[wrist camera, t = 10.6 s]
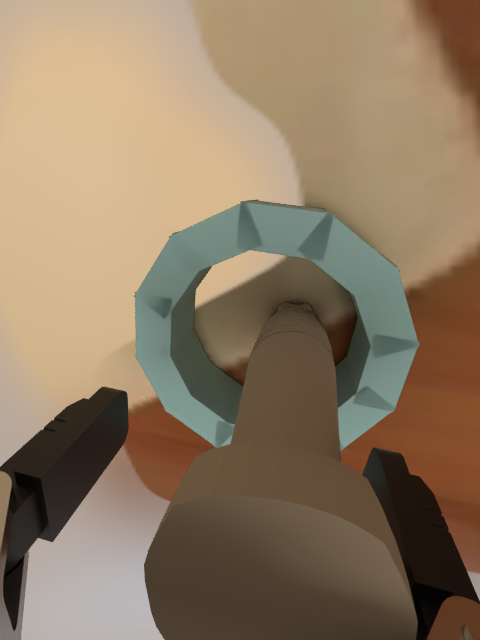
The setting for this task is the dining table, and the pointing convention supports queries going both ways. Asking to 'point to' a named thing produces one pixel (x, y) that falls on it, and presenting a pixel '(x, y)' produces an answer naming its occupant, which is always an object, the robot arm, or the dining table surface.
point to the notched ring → (285, 239)
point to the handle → (279, 516)
